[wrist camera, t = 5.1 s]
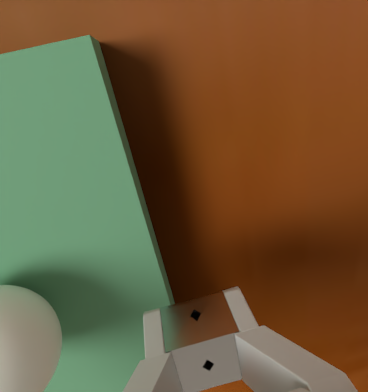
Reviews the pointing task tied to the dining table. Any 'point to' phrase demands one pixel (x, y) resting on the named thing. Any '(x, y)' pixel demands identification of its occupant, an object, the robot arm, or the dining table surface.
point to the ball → (27, 340)
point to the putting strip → (76, 212)
